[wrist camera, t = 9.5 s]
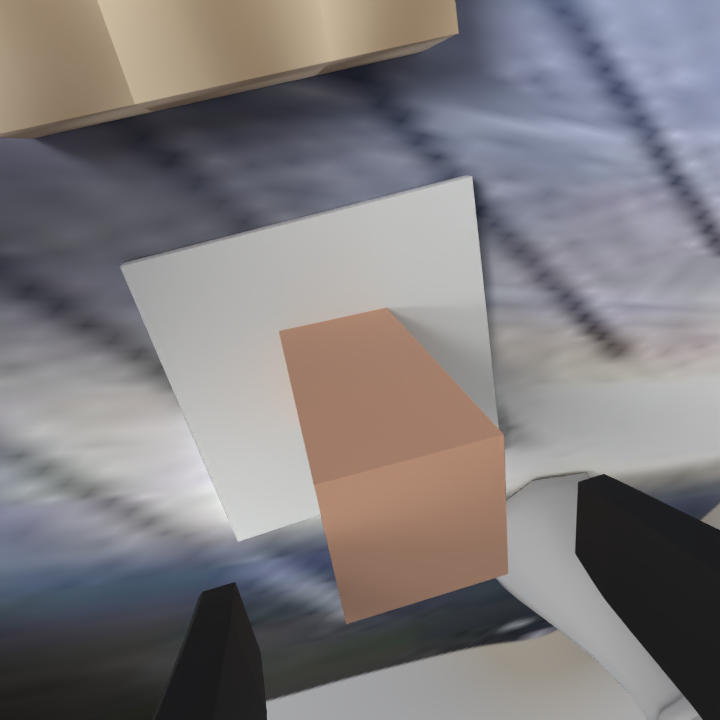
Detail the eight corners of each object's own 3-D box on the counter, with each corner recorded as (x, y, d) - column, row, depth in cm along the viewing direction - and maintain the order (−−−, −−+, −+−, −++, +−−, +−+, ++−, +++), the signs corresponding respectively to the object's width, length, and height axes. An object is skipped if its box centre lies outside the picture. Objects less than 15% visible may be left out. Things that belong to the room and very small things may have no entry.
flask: (597, 448, 24) (806, 623, 15) (609, 549, 28) (790, 743, 19) (461, 506, 24) (597, 722, 15) (490, 602, 27) (617, 828, 18)
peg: (300, 425, 19) (346, 624, 11) (278, 331, 18) (314, 485, 10) (398, 401, 20) (508, 573, 12) (386, 307, 18) (503, 434, 10)
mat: (237, 531, 21) (237, 541, 21) (123, 262, 16) (119, 266, 16) (495, 447, 23) (501, 455, 22) (464, 175, 18) (472, 176, 17)
